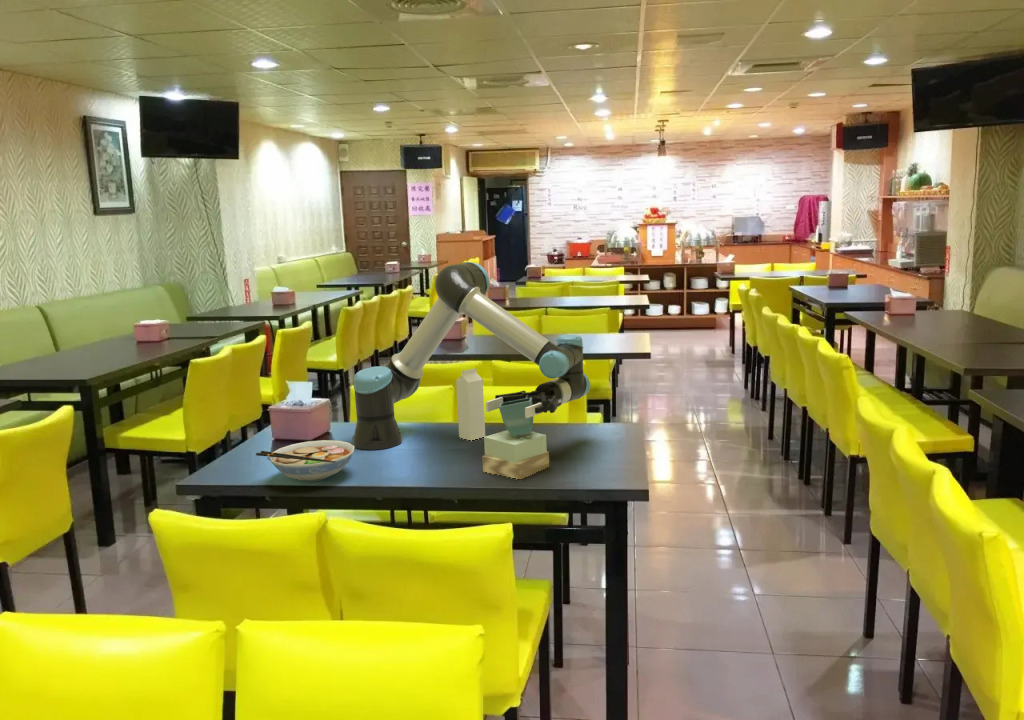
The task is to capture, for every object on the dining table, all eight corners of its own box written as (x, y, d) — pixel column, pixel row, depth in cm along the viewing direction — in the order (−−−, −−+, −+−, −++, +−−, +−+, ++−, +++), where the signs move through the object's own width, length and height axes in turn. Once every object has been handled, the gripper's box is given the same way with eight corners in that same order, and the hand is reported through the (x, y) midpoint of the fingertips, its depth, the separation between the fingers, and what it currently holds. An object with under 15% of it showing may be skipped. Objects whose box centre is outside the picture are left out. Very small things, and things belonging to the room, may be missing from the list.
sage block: (484, 454, 213) (484, 437, 212) (516, 444, 221) (515, 427, 220) (515, 463, 205) (514, 444, 204) (546, 452, 213) (546, 434, 212)
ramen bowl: (376, 469, 218) (374, 441, 217) (325, 496, 198) (322, 466, 196) (305, 460, 229) (303, 434, 227) (249, 486, 208) (246, 456, 207)
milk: (485, 437, 246) (482, 369, 242) (470, 441, 242) (467, 372, 238) (473, 434, 250) (470, 367, 246) (458, 438, 246) (455, 370, 242)
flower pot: (506, 434, 216) (500, 402, 215) (538, 428, 215) (531, 396, 215) (504, 439, 207) (498, 406, 207) (537, 433, 206) (530, 400, 206)
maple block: (483, 473, 212) (482, 456, 212) (512, 461, 222) (511, 444, 222) (520, 482, 205) (520, 464, 204) (549, 468, 215) (548, 451, 214)
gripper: (588, 411, 217) (544, 429, 201) (518, 401, 233) (472, 417, 216) (588, 385, 216) (543, 401, 200) (517, 377, 231) (470, 391, 215)
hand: (506, 409), depth 208 cm, fingers open, 13 cm apart
